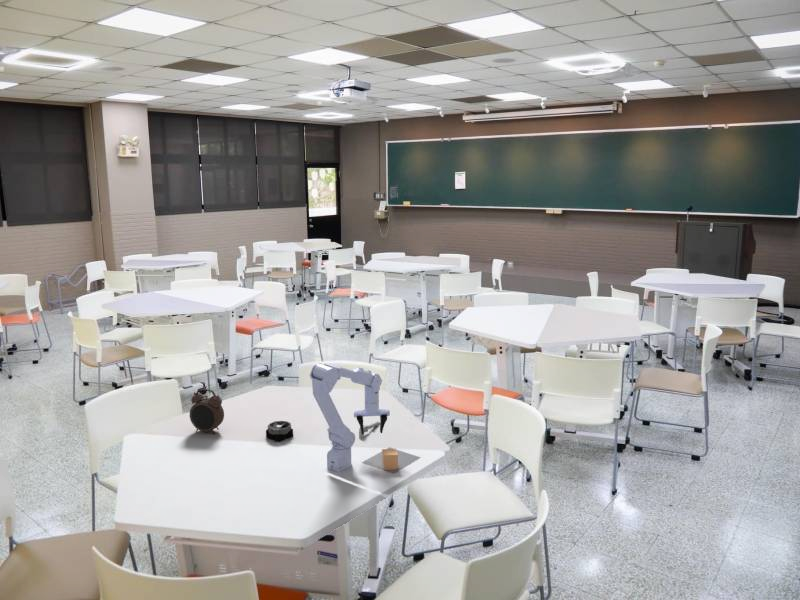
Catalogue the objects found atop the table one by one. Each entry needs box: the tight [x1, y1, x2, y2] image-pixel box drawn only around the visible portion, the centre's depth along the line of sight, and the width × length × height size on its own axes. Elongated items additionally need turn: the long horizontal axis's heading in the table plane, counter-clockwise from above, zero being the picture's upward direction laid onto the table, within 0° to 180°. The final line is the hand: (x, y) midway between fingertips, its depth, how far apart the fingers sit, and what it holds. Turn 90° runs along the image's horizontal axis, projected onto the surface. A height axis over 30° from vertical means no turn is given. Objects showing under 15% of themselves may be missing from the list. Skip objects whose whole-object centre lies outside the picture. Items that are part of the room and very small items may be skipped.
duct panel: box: [361, 446, 421, 475], centre depth 244 cm, size 18×16×5 cm
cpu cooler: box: [265, 420, 294, 443], centre depth 269 cm, size 10×6×10 cm
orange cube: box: [381, 448, 398, 471], centre depth 239 cm, size 6×6×6 cm
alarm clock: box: [189, 388, 225, 435], centre depth 272 cm, size 14×7×20 cm, turn 76°
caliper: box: [358, 421, 380, 439], centre depth 275 cm, size 21×1×6 cm, turn 158°
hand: (371, 432), depth 250 cm, fingers open, 7 cm apart
